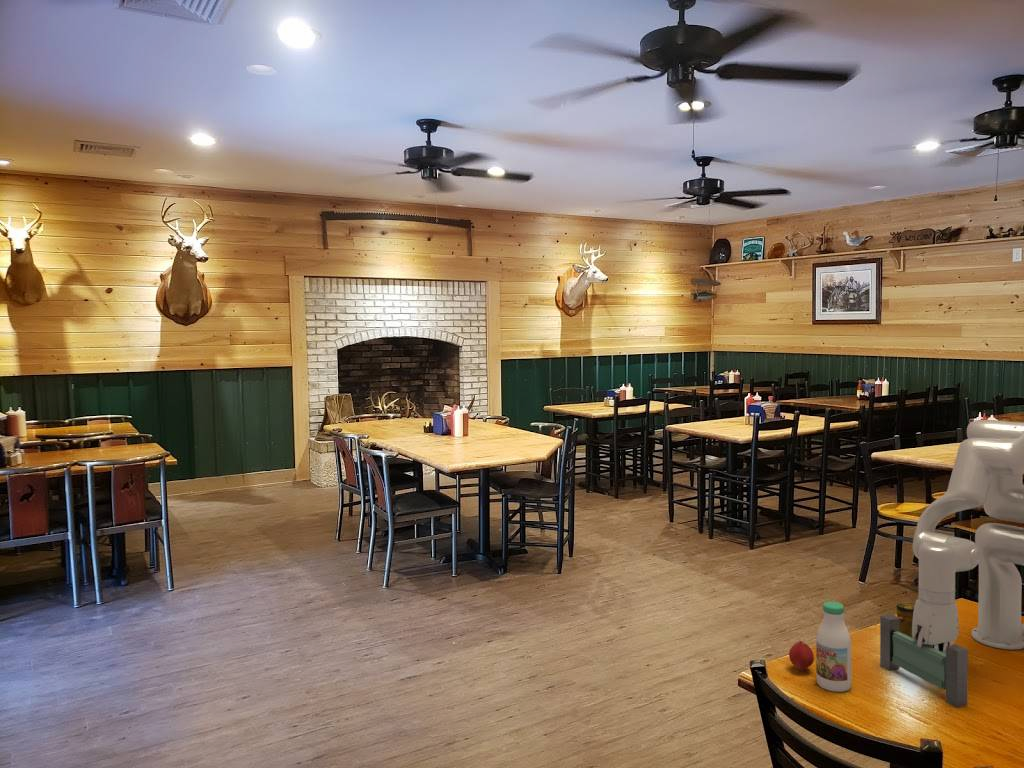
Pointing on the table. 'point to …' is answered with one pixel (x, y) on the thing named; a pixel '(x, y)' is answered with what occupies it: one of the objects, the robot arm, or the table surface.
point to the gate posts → (954, 662)
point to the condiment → (905, 618)
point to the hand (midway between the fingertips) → (935, 669)
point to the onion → (801, 655)
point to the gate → (919, 660)
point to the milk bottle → (833, 650)
